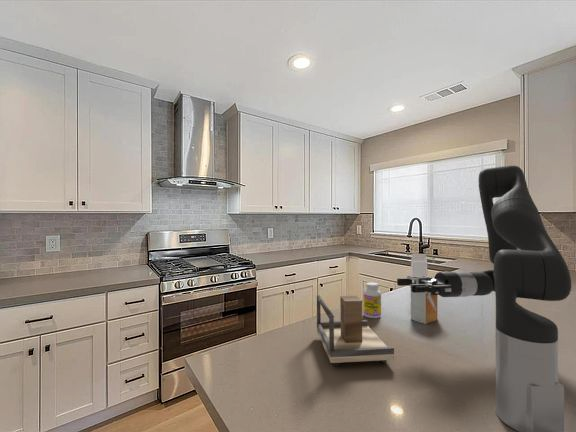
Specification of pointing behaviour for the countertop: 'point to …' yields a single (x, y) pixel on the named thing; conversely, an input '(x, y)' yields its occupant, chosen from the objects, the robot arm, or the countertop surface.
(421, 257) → the milk
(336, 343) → the cart
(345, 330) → the walnut block
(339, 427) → the countertop surface
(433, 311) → the small box
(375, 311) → the supplement bottle
